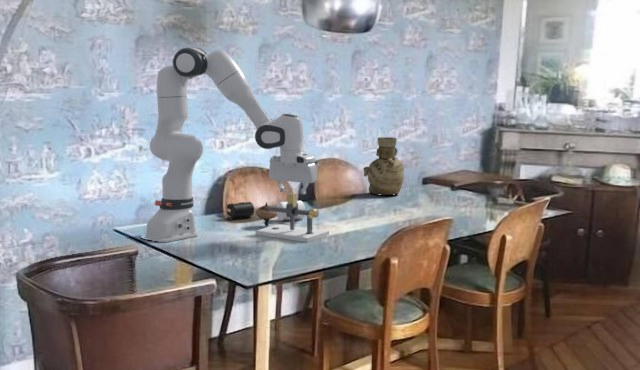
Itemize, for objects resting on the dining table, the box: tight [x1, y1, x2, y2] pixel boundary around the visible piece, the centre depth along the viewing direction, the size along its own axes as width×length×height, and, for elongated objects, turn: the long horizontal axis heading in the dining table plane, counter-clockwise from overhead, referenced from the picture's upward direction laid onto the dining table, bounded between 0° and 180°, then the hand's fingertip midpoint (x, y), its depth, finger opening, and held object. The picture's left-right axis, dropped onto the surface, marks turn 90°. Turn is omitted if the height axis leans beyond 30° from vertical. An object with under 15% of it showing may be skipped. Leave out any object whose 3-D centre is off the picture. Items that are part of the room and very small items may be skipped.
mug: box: [276, 200, 306, 222], centre depth 296 cm, size 12×10×8 cm
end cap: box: [226, 201, 255, 220], centre depth 301 cm, size 10×7×7 cm
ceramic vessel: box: [363, 136, 405, 195], centre depth 365 cm, size 19×21×30 cm
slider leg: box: [286, 192, 298, 230], centre depth 267 cm, size 4×3×14 cm, turn 148°
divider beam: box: [268, 205, 320, 233], centre depth 268 cm, size 2×22×10 cm, turn 58°
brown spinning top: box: [255, 202, 277, 227], centre depth 284 cm, size 8×8×10 cm
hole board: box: [255, 224, 330, 243], centre depth 269 cm, size 15×24×2 cm, turn 58°
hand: (292, 192), depth 266 cm, fingers open, 8 cm apart
